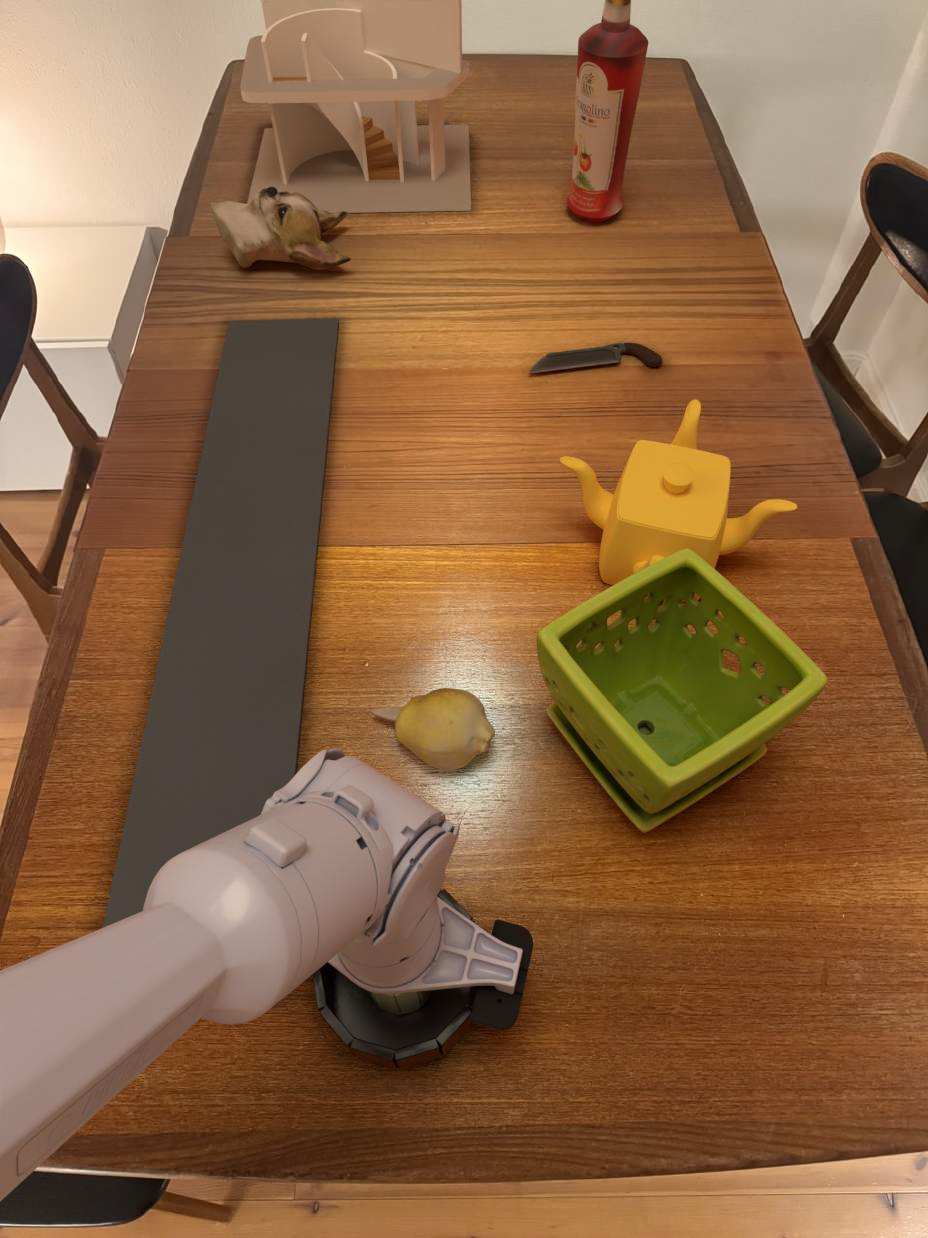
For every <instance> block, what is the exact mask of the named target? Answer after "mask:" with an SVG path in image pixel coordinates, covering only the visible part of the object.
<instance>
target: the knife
mask: <svg viewBox="0 0 928 1238" xmlns="http://www.w3.org/2000/svg"><path fill="white" fill-rule="evenodd" d="M623 353H624V354H630V355H635V356H636V357H637V358H639V359H640V360H641V361H642V362H643V363H645V364H646V365H647V366H649V367H651V368H652V367H653V368H658V367H659V366H661V365H663V358H662V356H661V355H660V354H659V353H657V352H656V351H654V350H652V349H651V348H649V347H647V346H645V345H643V344H640V343H636V342H621V343H620V342H617V343H616V342H615V343H611V344H606V345H603V346H602V345H601V346H595V347H587V348H581V349H580V348H579V349H570V350H562V351H556V352H555V351H554V352H549V353H547V354H546V355H545V356H543V357H541V358H540V359H538V361H537V362H536V363H535V364H533V365H532V366H531V368H530V369H529V371H528V374H536V373H544V372H545V373H546V372H550V371H551V372H552V371H559V370H560V371H561V370H568V369H577V368H585V367H592V366H599V365H609V364H615V363H616V364H617V363H620V362H621V361H622V354H623Z"/></svg>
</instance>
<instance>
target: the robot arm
mask: <svg viewBox="0 0 928 1238" xmlns="http://www.w3.org/2000/svg"><path fill="white" fill-rule="evenodd" d="M460 829H461V823H460V822H457V823H456V824H454V823H453V822H452V821H450V820H448V819H447V818H446V814H445V813H444V812H443V811H442V810H440V809H438V808H437V807H435V806H434V805H432V804H431V803H429V802H428V801H426V800H424V799H423V798H422V797H420V796H418V795H416V794H415V793H414V792H412V791H410V790H408V788H407V789H406V788H405V787H404V786H402V785H400V784H399V783H397V782H395V781H394V780H393V779H391V778H389V777H388V776H386V775H385V774H383V773H382V772H380V771H378V770H377V769H375V768H374V767H372V766H371V765H369V764H367V763H366V762H365V761H363V760H361V759H360V758H359V757H357V756H355V755H346V753H345V751H343V749H340V748H330V749H322V750H320V751H319V752H318V753H317V754H315V755H314V756H313V757H311V758H310V759H309V760H308V761H307V762H306V763H305V764H304V765H303V766H302V767H301V768H300V769H299V770H297V772H296V775H295V776H294V777H293V778H292V779H291V781H290V782H289V783H288V784H287V785H285V786H284V787H283V788H281V789H280V790H278V791H276V792H274V794H273V796H272V797H271V798H269V799H268V800H267V801H266V803H265V805H264V808H263V810H262V813H261V815H259V816H257V817H255V818H253V819H251V820H249V821H247V822H245V823H243V824H241V825H239V826H236V827H234V828H232V829H230V830H228V831H226V832H224V833H222V834H220V835H218V836H215V837H213V838H211V839H209V840H207V841H205V842H203V843H201V844H199V845H197V846H195V847H193V848H190V849H188V850H186V851H184V852H182V853H180V854H178V855H177V856H175V857H173V858H172V859H170V860H169V861H168V862H166V863H165V865H164V866H163V867H162V868H161V869H160V870H159V871H158V873H157V874H156V876H155V877H154V879H153V881H152V883H151V885H150V887H149V890H148V893H147V896H146V900H145V903H144V908H143V911H142V912H140V913H137V914H135V915H133V916H130V917H128V918H125V919H123V920H121V921H118V922H116V923H113V924H111V925H109V926H106V927H104V928H103V927H102V928H99V929H97V930H95V931H92V932H90V933H87V934H85V935H83V936H79V937H78V938H75V939H73V940H70V941H67V942H66V943H63V944H61V945H58V946H55V947H53V948H52V949H49V950H46V951H44V952H41V953H40V954H37V955H33V956H31V957H30V958H27V959H25V960H23V961H20V962H18V963H16V964H15V963H14V964H13V965H11V966H8V967H5V968H4V969H3V968H2V969H1V970H0V1202H2V1201H3V1200H4V1199H5V1198H6V1197H7V1196H9V1194H10V1193H11V1192H13V1190H15V1189H16V1188H17V1187H18V1186H19V1185H20V1184H21V1183H22V1182H23V1181H24V1180H26V1179H27V1178H28V1177H29V1176H30V1175H31V1174H32V1173H33V1172H34V1171H36V1170H37V1169H38V1168H39V1167H40V1166H41V1165H42V1164H44V1162H45V1161H47V1159H49V1157H51V1156H52V1155H53V1154H54V1153H55V1152H56V1151H57V1150H58V1149H60V1147H62V1146H63V1145H64V1144H65V1143H66V1142H67V1141H68V1140H69V1139H70V1138H72V1137H73V1136H74V1135H75V1134H76V1133H77V1132H78V1131H79V1130H80V1129H81V1128H83V1127H84V1126H85V1125H86V1124H87V1123H88V1122H89V1121H90V1120H91V1119H92V1118H94V1117H95V1115H97V1114H98V1113H99V1112H100V1111H101V1110H102V1109H103V1108H105V1106H106V1105H108V1104H109V1103H110V1102H111V1101H113V1099H114V1098H115V1097H116V1096H117V1095H119V1094H120V1093H121V1092H123V1090H124V1089H125V1088H126V1087H128V1086H129V1085H130V1084H131V1083H132V1082H133V1081H134V1080H135V1079H136V1078H137V1077H138V1076H139V1075H140V1074H142V1072H144V1071H145V1070H146V1069H147V1068H148V1067H149V1066H151V1064H152V1063H153V1062H154V1061H155V1060H157V1059H158V1058H159V1057H160V1056H161V1055H162V1054H164V1052H165V1051H167V1050H168V1049H169V1048H170V1047H171V1046H172V1045H173V1044H174V1043H175V1042H176V1041H178V1040H179V1038H181V1037H182V1036H183V1035H184V1034H185V1033H186V1032H187V1031H189V1029H191V1028H193V1026H194V1025H195V1024H196V1023H197V1022H198V1021H199V1020H200V1019H202V1020H205V1021H208V1022H210V1023H211V1022H212V1023H214V1024H220V1025H225V1026H226V1025H227V1026H228V1025H229V1026H231V1025H232V1026H233V1025H241V1024H246V1023H249V1022H252V1021H254V1020H256V1019H258V1018H260V1017H262V1016H263V1015H265V1014H266V1013H267V1012H268V1011H269V1010H271V1009H272V1008H273V1007H274V1006H275V1005H277V1004H278V1003H279V1002H281V1001H282V1000H283V999H284V998H286V997H287V996H288V995H289V994H290V993H291V992H293V991H294V990H296V989H297V988H298V987H299V986H300V985H301V984H303V983H304V982H305V981H307V980H308V979H309V978H310V977H312V974H313V973H315V972H316V971H317V970H318V969H319V968H321V967H322V966H323V965H324V964H326V963H327V962H328V963H329V964H331V965H332V966H333V967H335V968H336V969H337V970H338V971H340V972H341V973H342V974H343V975H345V976H346V977H347V978H349V979H350V980H351V981H352V982H354V983H355V984H356V985H358V986H359V987H361V988H363V989H365V990H367V991H370V992H374V993H380V994H395V993H406V992H416V991H427V990H437V989H448V988H459V987H469V986H478V989H477V993H476V997H475V1001H474V1005H473V1009H472V1013H471V1017H470V1022H473V1024H477V1025H480V1026H483V1027H487V1028H491V1029H495V1030H496V1031H497V1030H498V1031H507V1030H510V1029H511V1028H512V1027H513V1026H514V1025H515V1024H516V1022H517V1020H518V1017H519V1013H520V1009H521V1004H522V1001H523V995H524V991H525V986H526V982H527V978H528V973H529V968H530V964H531V958H532V954H533V950H534V939H533V935H532V934H531V932H530V931H529V929H527V928H526V927H525V926H522V925H520V924H516V923H512V922H510V921H505V920H502V919H494V922H493V926H492V930H491V933H489V932H488V931H486V930H485V929H483V928H482V927H481V926H479V925H478V924H477V923H476V922H475V923H474V922H472V921H471V920H469V919H468V918H467V917H465V916H464V915H462V914H461V913H460V912H458V911H457V910H455V909H454V908H453V907H451V906H450V905H448V904H447V903H446V902H444V901H443V900H441V899H440V898H439V897H437V894H438V893H439V892H440V890H441V889H442V888H443V883H444V882H445V880H446V878H447V877H446V870H447V866H448V864H449V861H450V860H451V856H452V854H453V852H454V850H455V847H456V844H457V841H458V838H459V833H460Z"/></svg>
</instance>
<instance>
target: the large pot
mask: <svg viewBox="0 0 928 1238" xmlns="http://www.w3.org/2000/svg"><path fill="white" fill-rule="evenodd" d="M437 897H439V898H440V899H441V900H443V901H444V902H446V903H447V904H448V905H450V906H451V907H453V908H454V909H455V910H457V911H458V912H460V913H461V914H462V915H464V916H465V917H467V918H468V919H469V920H471V921H472V922H474V923H475V924H476V922H475V920H473V916H472V915H471V914H470V913H469V912H468V911H467V910H466V909H465V908H464V907H463V906H462V905H461V904H460V903H459V902H458V901H457V900H456V899H455V898H454V897H453V896H452V895H451V894H450V893H449V892H448V891H447V890H446V889H445V888H443V889H442V888H441V890H440V892H439V893H438V894H437ZM311 977H312V985H313V990H314V991H313V992H314V996H315V1003H316V1009H317V1010H318V1012H319V1015H320V1017H322V1019H323V1020H324V1022H325V1023H326V1024H327V1025H328V1026H329V1028H330V1029H331V1030H332V1031H333V1033H334V1034H335V1035H336V1036H337V1038H339V1040H340V1041H341V1042H342V1043H343V1044H344V1046H345V1047H346V1048H347V1049H348V1051H350V1053H351V1054H352V1055H353V1057H356V1058H357V1059H358V1060H361V1061H364V1062H367V1063H370V1064H372V1065H376V1066H377V1067H382V1068H386V1069H387V1068H388V1069H391V1070H395V1071H398V1070H400V1071H404V1070H407V1069H411V1068H417V1067H421V1066H424V1065H427V1064H429V1063H432V1062H433V1061H438V1060H440V1059H441V1058H442V1057H445V1056H446V1055H447V1054H448V1053H449V1051H451V1050H452V1049H453V1048H454V1047H455V1046H457V1044H458V1043H460V1041H462V1039H463V1038H464V1036H465V1035H466V1034H467V1032H469V1030H470V1029H471V1028H472V1027H473V1025H474V1023H473V1022H470V1017H471V1013H472V1009H473V1005H474V1001H475V997H476V993H477V989H478V986H469V987H459V988H448V989H437V990H433V991H432V993H431V995H430V997H429V998H428V1000H427V1001H426V1002H425V1004H423V1005H422V1006H421V1007H420V1008H418V1009H417V1010H415V1011H413V1012H411V1013H407V1014H393V1013H389V1012H387V1011H385V1010H383V1009H381V1008H380V1007H378V1006H377V1004H376V1003H375V1002H374V1000H373V999H372V997H371V996H370V994H369V993H368V991H367V990H365V989H363V988H361V987H359V986H358V985H356V984H355V983H354V982H352V981H351V980H350V979H349V978H347V977H346V976H345V975H343V974H342V973H341V972H340V971H338V970H337V969H336V968H335V967H333V966H332V965H331V964H329V963H328V962H327V963H326V964H324V965H323V966H322V967H321V968H319V969H318V970H317V971H316V972H315V973H313V974H312V975H311Z"/></svg>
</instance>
